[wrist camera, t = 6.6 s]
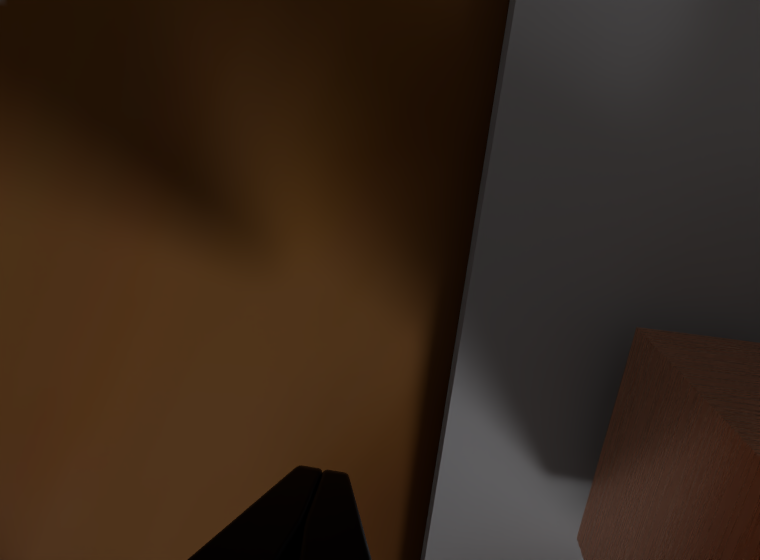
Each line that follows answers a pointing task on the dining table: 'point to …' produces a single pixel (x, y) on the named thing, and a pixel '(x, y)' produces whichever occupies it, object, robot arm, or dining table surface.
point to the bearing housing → (592, 250)
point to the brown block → (679, 454)
